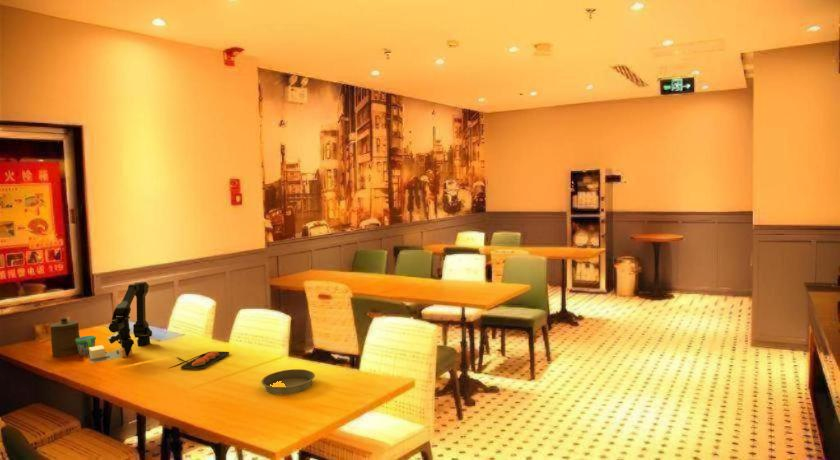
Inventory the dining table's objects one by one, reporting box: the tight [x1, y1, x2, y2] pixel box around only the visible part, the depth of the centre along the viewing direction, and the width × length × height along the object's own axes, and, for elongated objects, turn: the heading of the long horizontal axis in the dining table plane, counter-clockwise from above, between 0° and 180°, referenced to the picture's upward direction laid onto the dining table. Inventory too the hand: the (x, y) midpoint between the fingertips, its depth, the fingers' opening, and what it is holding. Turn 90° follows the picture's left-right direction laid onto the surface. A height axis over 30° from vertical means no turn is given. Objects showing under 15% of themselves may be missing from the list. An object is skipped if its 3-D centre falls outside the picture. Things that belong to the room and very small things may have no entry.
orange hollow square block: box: [119, 347, 133, 358], centre depth 335 cm, size 5×5×4 cm
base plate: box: [86, 348, 132, 364], centre depth 336 cm, size 21×18×3 cm
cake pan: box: [261, 368, 316, 396], centre depth 274 cm, size 25×25×4 cm
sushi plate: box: [167, 350, 230, 370], centre depth 321 cm, size 29×30×4 cm
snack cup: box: [75, 335, 97, 357], centre depth 344 cm, size 16×10×10 cm
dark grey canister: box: [49, 316, 81, 357], centre depth 350 cm, size 15×15×22 cm
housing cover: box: [88, 344, 106, 359], centre depth 335 cm, size 7×10×5 cm
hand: (126, 354), depth 336 cm, fingers open, 6 cm apart
